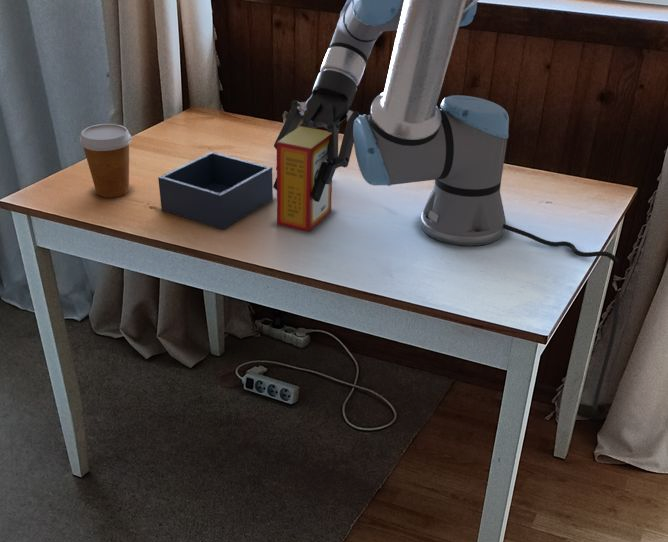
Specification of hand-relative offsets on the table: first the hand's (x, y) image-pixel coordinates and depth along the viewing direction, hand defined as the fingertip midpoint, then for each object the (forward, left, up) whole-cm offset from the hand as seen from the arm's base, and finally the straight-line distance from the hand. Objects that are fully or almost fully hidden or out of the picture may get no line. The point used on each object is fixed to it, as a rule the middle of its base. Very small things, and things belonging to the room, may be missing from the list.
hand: (296, 194), depth 152 cm
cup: (+20, -32, -6) cm, 38 cm away
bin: (+17, +1, -6) cm, 18 cm away
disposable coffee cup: (+38, +7, -6) cm, 40 cm away
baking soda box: (+1, -4, -6) cm, 7 cm away
